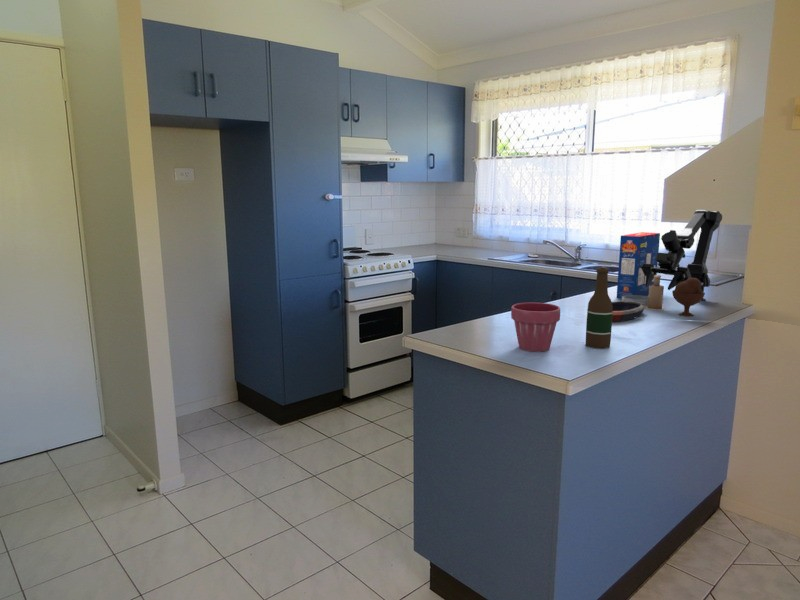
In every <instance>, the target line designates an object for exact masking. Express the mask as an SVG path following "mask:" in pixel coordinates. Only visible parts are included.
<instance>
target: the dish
mask: <svg viewBox="0 0 800 600" xmlns="http://www.w3.org/2000/svg"><path fill="white" fill-rule="evenodd" d="M611 302H612V306H613V315H612V323H613V322H614V323H615V322H624V321H629V320H633V319H636V318H638V317H640V316H641V315H642V314H643V312H644V310H645V309H646V308H645V304H644V303H640V302H634V301H622V300H617V301H611Z"/></svg>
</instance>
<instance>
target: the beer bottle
mask: <svg viewBox="0 0 800 600" xmlns="http://www.w3.org/2000/svg"><path fill="white" fill-rule="evenodd" d="M609 272H610V271H609V268H606V267H597V268H596V271H595V273H596V281H595V289H594V292H593V295H592V296H591V297H590V298H589V301H588V304H587V309H586V312H587V313H586V325H585V326H586V327H585V346H586V347H588V348H591V349H597V350H599V349H600V350H604V349H610V347H611V342H612V327H613V326H612V325H613V322H612V315H613V306H612V302H613V301H612V300H611V299H612V298H610V296H609V291H608V290H609V289H608V287H609V286H608V284H609V283H608V277H609V276H608V275H609V274H608V273H609Z"/></svg>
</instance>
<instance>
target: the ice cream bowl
mask: <svg viewBox="0 0 800 600" xmlns="http://www.w3.org/2000/svg"><path fill="white" fill-rule="evenodd" d="M671 291H672V296H673V299H674V300H675V301H676V302H677V303H678V304H679V305H682V306H683V308H684V309H683V311H682V312H680V313H679V314H678V316H681V317H689V318H691V317H694V316H695V315H694V314H692V313H691V312H690V308H691V307H692V306H694V305H697V304H698V303H700V302H702V301H703V300H702V299H703V298H705V294H706V293H705V291H704V292H702V290H701V282H700V281H699V280H698V279H697V278H688V279H687V280H686V281H683V282H680V283H679V284H677V286H675V287H674V289H673V290H671Z"/></svg>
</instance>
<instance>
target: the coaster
mask: <svg viewBox="0 0 800 600" xmlns="http://www.w3.org/2000/svg"><path fill="white" fill-rule="evenodd" d="M645 309H646V310H653V311H654V310H656V311H658V310H659V311H666V309H665V307H663V306H662V309H650V308H648V306H645Z"/></svg>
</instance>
